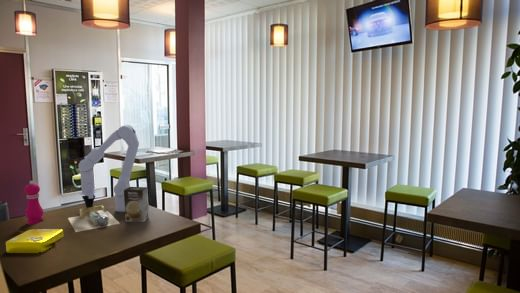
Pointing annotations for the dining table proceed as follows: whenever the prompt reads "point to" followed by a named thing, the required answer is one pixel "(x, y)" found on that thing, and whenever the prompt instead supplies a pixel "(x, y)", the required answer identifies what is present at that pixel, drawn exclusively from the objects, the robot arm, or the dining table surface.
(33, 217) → the pepper mill
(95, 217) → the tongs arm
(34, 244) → the element tile
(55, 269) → the dining table surface
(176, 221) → the dining table surface
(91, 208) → the tan wooden arch piece
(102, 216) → the grey long bar
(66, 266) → the dining table surface
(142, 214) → the coffee box
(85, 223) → the board
